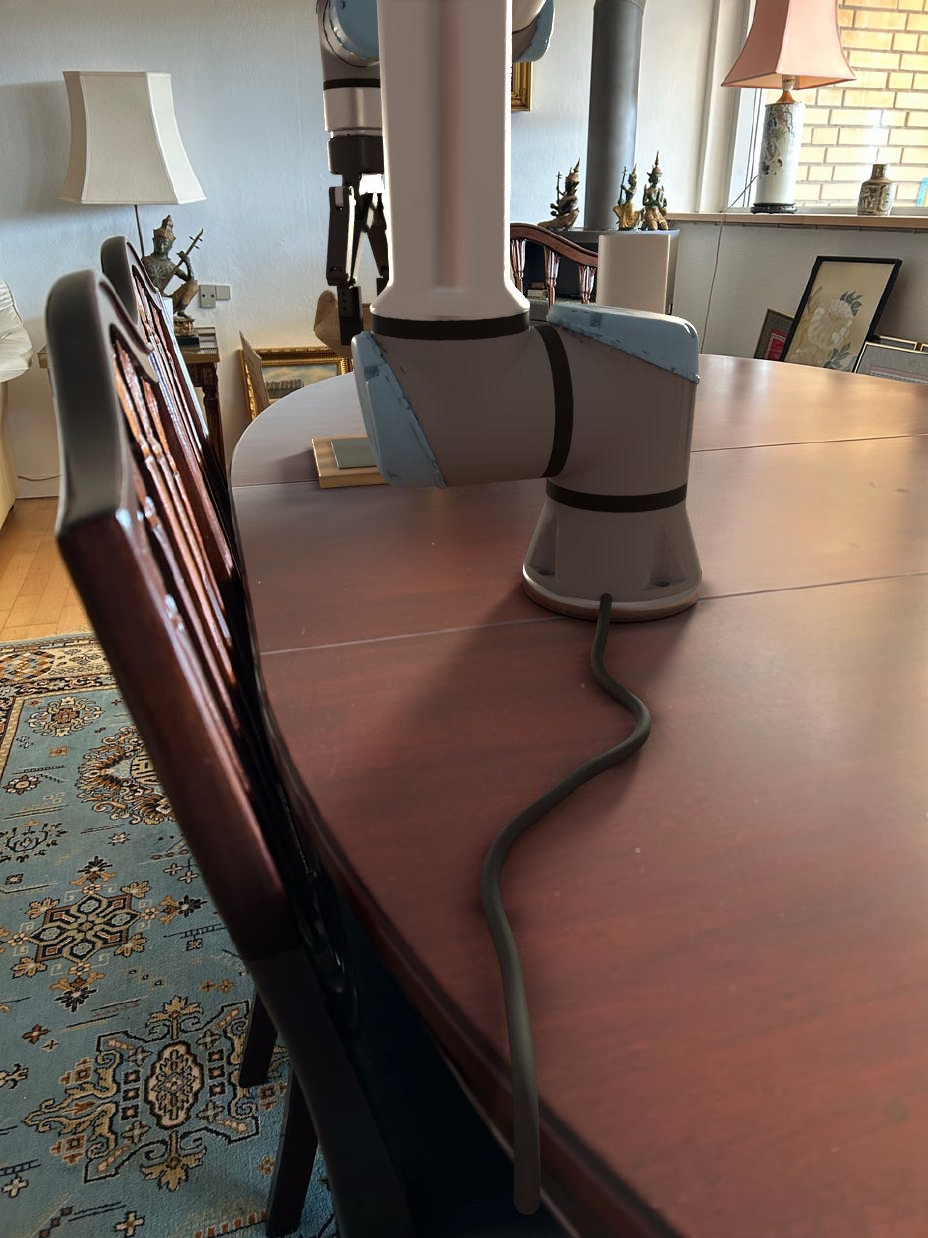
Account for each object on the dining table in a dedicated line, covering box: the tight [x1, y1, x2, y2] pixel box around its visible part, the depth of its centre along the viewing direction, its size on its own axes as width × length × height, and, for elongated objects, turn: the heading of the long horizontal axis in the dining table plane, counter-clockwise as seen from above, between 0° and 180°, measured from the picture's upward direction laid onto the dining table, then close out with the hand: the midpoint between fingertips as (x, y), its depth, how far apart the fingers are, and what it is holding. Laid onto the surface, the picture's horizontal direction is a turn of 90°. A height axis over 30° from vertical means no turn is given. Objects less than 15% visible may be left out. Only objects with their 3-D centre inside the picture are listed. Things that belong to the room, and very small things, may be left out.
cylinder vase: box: [595, 233, 671, 315], centre depth 164 cm, size 12×12×25 cm
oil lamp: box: [312, 289, 373, 360], centre depth 109 cm, size 11×15×8 cm
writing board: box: [311, 434, 389, 489], centre depth 117 cm, size 20×16×2 cm
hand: (372, 338), depth 109 cm, fingers closed on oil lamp, 11 cm apart
